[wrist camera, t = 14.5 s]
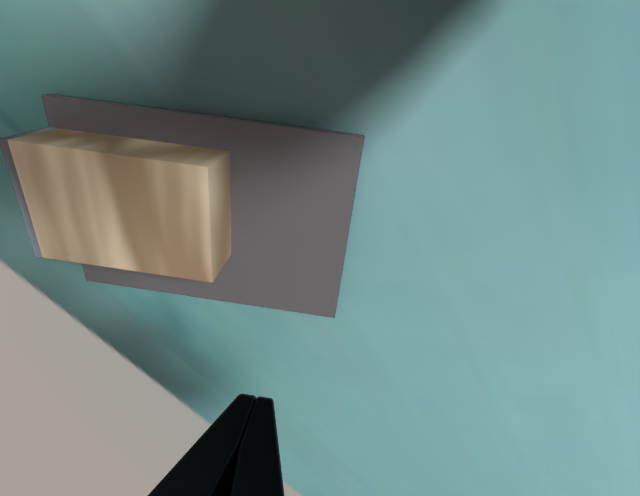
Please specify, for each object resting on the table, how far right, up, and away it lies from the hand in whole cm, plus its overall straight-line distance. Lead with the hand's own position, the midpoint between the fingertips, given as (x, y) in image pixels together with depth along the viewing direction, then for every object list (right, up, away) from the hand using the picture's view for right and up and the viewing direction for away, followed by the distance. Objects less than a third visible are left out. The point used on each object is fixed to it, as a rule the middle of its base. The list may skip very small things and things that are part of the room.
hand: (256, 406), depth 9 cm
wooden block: (-3, +5, +9) cm, 11 cm away
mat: (-5, +6, +12) cm, 14 cm away
